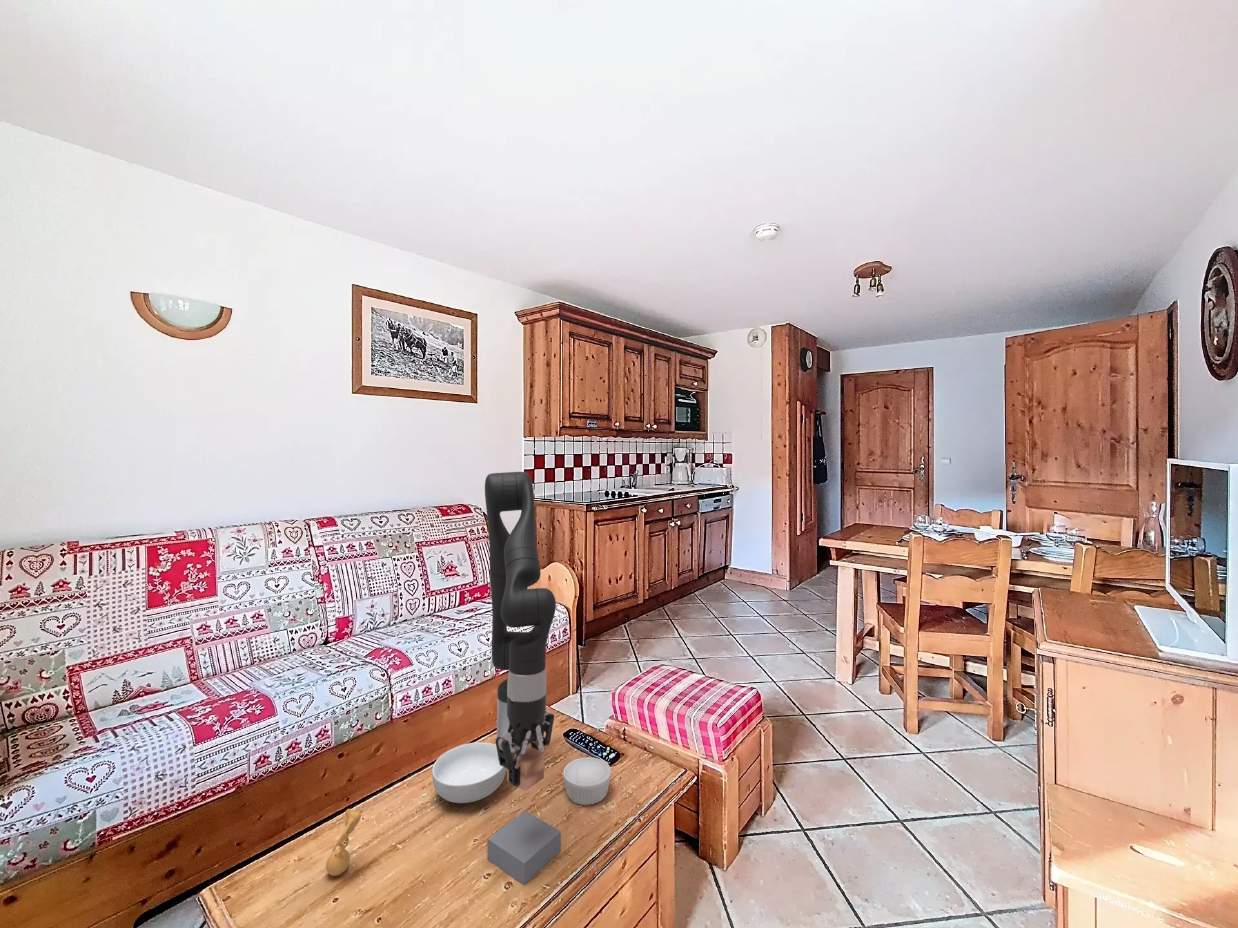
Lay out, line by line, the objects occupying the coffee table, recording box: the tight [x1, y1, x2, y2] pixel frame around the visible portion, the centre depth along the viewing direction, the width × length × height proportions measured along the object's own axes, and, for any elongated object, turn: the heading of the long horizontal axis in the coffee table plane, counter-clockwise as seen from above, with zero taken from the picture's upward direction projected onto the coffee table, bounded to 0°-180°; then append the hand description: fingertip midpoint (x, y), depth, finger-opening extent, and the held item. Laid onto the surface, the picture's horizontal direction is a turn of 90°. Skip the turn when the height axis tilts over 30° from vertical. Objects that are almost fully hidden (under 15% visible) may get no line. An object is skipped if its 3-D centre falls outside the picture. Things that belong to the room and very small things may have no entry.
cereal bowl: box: [431, 741, 507, 804], centre depth 119 cm, size 17×17×7 cm
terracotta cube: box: [506, 745, 545, 792], centre depth 100 cm, size 5×5×5 cm
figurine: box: [325, 808, 363, 877], centre depth 95 cm, size 8×6×12 cm
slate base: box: [486, 810, 562, 886], centre depth 100 cm, size 10×10×4 cm
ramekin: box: [562, 756, 612, 806], centre depth 119 cm, size 11×11×5 cm
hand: (525, 776), depth 100 cm, fingers closed on terracotta cube, 5 cm apart
